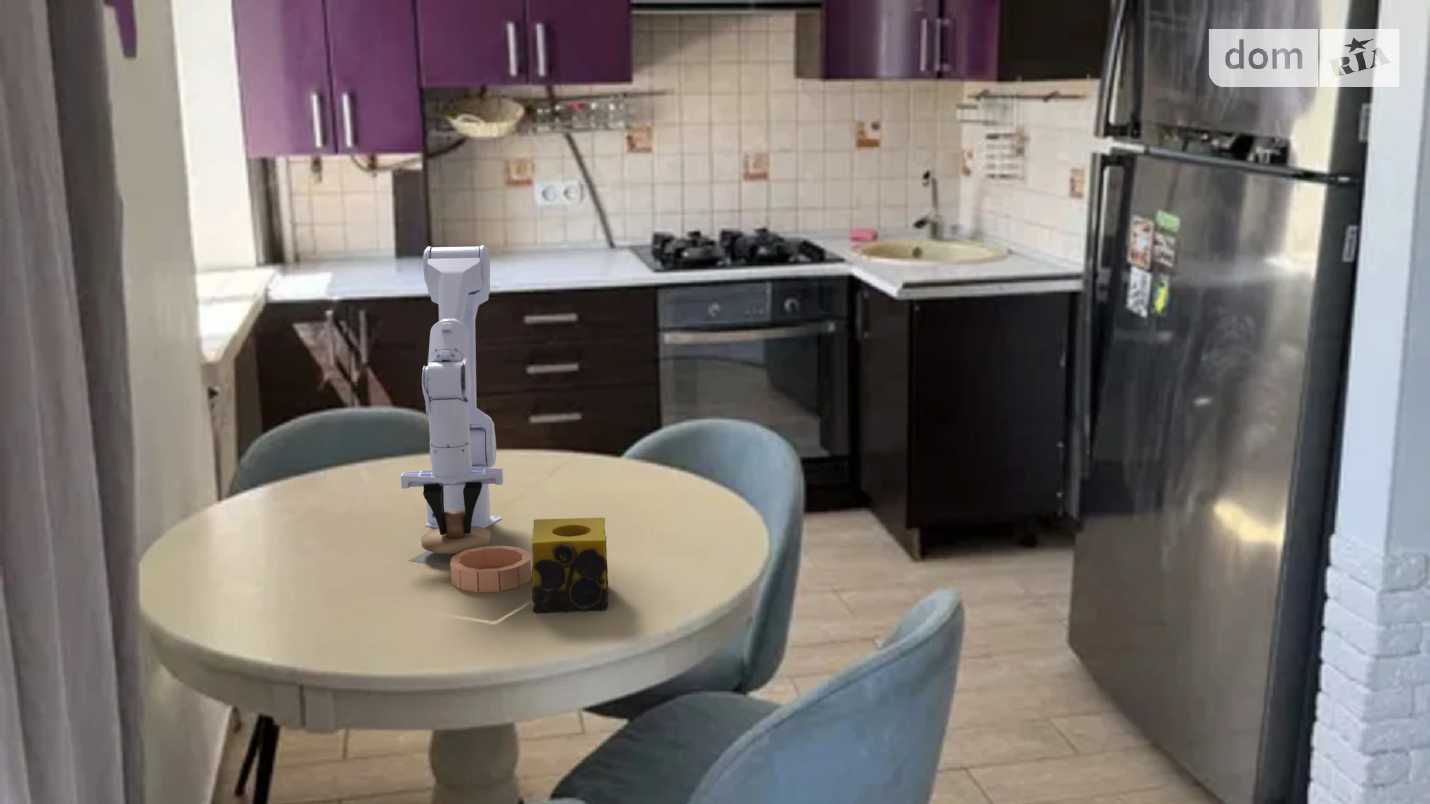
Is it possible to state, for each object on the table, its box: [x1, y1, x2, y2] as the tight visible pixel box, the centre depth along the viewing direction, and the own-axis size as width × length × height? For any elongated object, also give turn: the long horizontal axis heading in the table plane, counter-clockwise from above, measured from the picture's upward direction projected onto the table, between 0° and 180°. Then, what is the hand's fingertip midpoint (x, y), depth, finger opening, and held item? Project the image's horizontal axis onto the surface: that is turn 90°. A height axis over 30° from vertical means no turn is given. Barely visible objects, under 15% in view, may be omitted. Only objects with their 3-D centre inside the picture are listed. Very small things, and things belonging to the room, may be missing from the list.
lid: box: [420, 509, 492, 554], centre depth 202 cm, size 10×10×5 cm
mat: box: [408, 550, 459, 568], centre depth 202 cm, size 10×10×1 cm
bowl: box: [449, 545, 533, 593], centre depth 192 cm, size 11×11×3 cm
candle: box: [531, 517, 609, 614], centre depth 184 cm, size 10×10×10 cm
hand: (455, 532), depth 202 cm, fingers closed on lid, 3 cm apart
